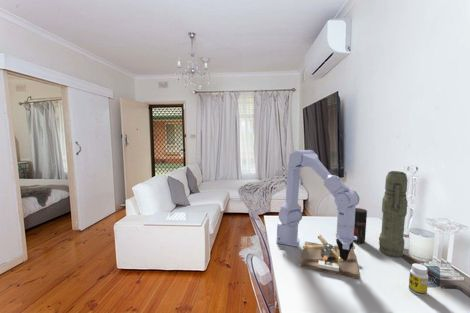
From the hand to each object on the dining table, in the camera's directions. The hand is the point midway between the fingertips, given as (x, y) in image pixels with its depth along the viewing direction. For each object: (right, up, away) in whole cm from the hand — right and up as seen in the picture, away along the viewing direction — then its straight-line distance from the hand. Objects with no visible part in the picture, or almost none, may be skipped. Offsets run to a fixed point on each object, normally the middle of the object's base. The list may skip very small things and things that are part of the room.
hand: (343, 259), depth 88 cm
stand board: (-2, -4, +9) cm, 10 cm away
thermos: (+27, -4, +15) cm, 31 cm away
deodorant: (+19, -2, +26) cm, 32 cm away
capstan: (-2, -2, +8) cm, 9 cm away
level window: (-5, -3, 0) cm, 6 cm away
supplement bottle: (+19, -6, -10) cm, 23 cm away
